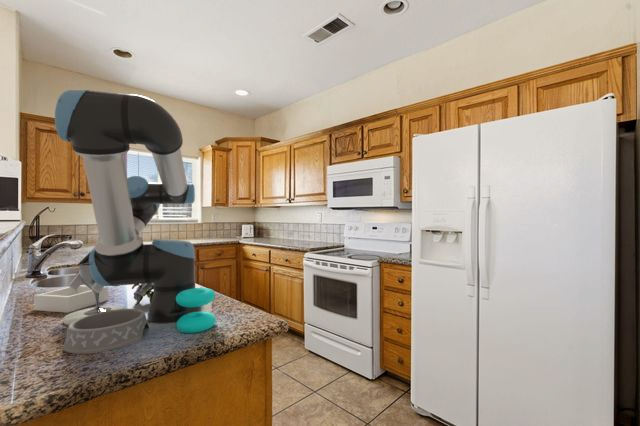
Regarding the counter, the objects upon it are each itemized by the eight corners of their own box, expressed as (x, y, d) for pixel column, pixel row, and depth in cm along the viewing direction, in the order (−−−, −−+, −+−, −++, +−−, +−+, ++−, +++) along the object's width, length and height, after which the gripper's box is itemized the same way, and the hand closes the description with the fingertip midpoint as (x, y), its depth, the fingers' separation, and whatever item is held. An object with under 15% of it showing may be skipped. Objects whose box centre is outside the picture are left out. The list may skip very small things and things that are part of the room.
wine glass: (75, 314, 95) (72, 265, 95) (100, 306, 103) (97, 261, 103) (94, 315, 93) (91, 265, 93) (119, 307, 100) (116, 260, 100)
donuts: (215, 285, 92) (213, 294, 82) (216, 319, 92) (214, 332, 82) (179, 288, 89) (172, 297, 79) (179, 323, 89) (173, 336, 79)
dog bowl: (48, 359, 68) (48, 335, 68) (86, 329, 86) (86, 310, 86) (135, 349, 73) (135, 326, 73) (154, 323, 91) (154, 304, 91)
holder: (108, 300, 115) (107, 286, 115) (68, 312, 101) (68, 297, 101) (77, 298, 118) (77, 285, 118) (34, 310, 104) (34, 295, 104)
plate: (134, 310, 102) (134, 306, 102) (91, 327, 87) (91, 323, 87) (97, 308, 105) (97, 304, 105) (50, 323, 91) (49, 319, 91)
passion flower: (138, 320, 108) (126, 290, 112) (170, 307, 116) (158, 279, 119) (142, 308, 101) (129, 276, 104) (176, 295, 108) (163, 266, 112)
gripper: (158, 239, 109) (119, 298, 94) (110, 237, 114) (65, 292, 99) (146, 225, 104) (103, 285, 89) (96, 223, 109) (47, 280, 94)
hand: (83, 289), depth 94 cm, fingers open, 8 cm apart
